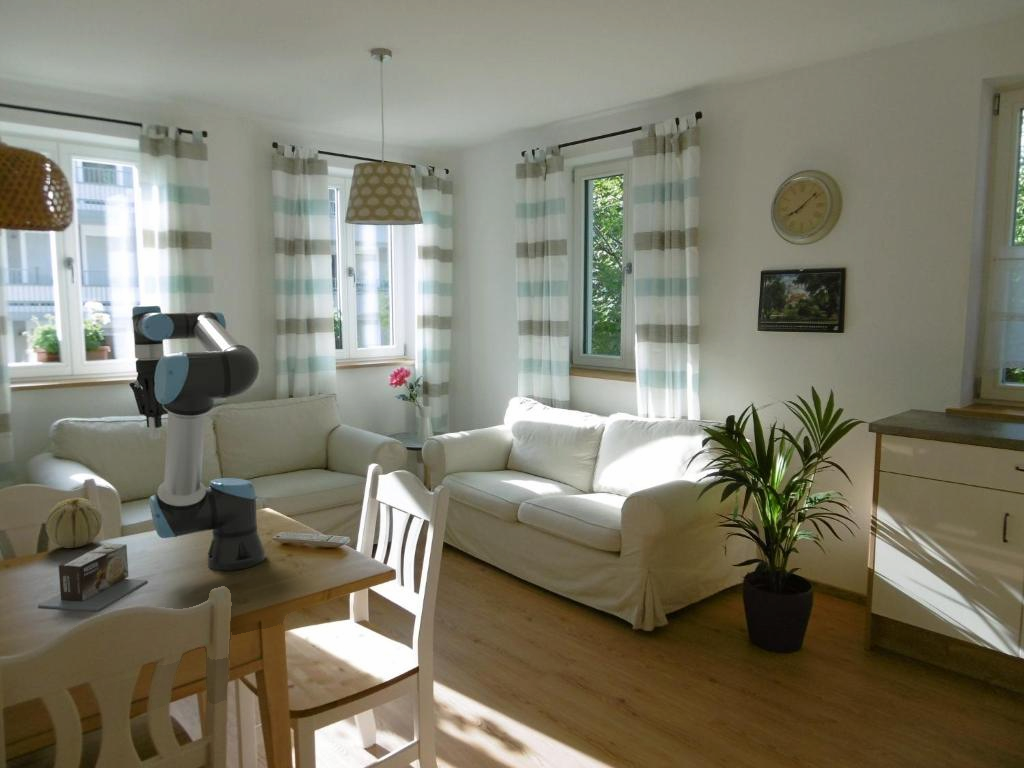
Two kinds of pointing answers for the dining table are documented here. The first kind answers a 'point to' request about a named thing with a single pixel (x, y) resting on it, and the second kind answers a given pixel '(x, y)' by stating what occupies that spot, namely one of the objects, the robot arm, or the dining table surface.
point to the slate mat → (96, 597)
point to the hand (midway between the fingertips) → (155, 438)
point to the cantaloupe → (73, 522)
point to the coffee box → (93, 572)
